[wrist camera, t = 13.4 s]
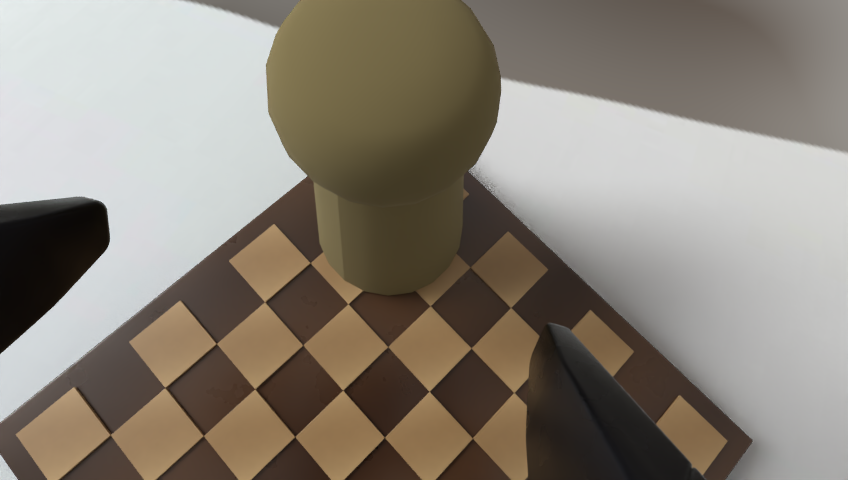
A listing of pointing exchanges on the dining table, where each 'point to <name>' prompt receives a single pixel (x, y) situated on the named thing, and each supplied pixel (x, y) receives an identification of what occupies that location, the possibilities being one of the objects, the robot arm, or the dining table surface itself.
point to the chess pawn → (385, 128)
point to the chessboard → (343, 368)
